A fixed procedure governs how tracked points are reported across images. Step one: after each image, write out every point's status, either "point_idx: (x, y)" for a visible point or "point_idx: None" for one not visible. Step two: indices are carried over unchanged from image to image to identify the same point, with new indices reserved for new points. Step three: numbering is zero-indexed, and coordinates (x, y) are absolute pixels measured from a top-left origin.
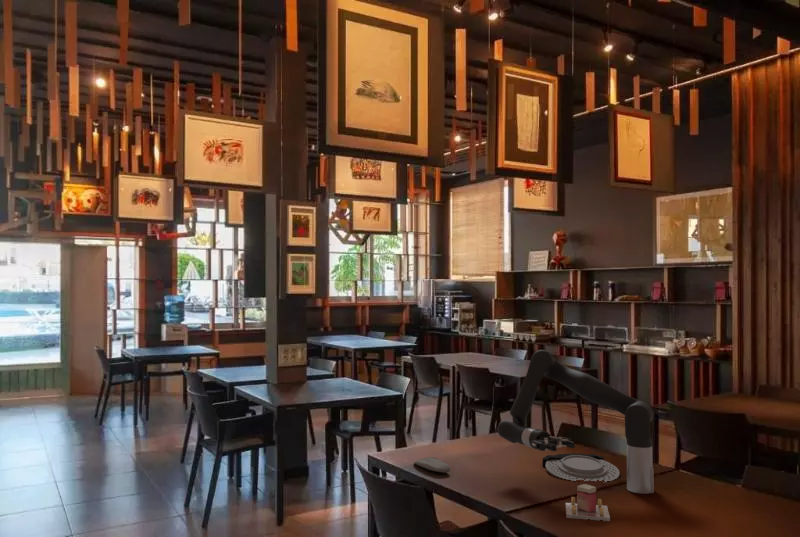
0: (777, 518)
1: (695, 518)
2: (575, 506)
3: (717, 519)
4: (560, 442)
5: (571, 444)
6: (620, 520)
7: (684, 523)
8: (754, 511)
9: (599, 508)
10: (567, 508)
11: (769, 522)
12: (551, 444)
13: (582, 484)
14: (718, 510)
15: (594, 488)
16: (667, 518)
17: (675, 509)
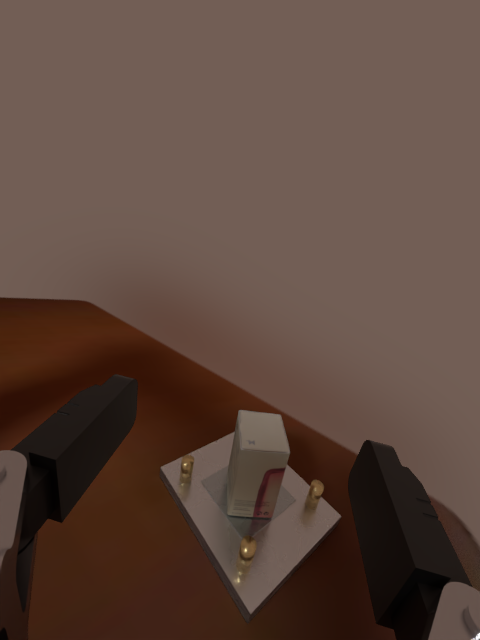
0: (36, 305)
1: (102, 352)
2: (315, 480)
3: (87, 336)
4: (15, 615)
5: (124, 409)
6: (219, 422)
7: (144, 357)
8: (5, 316)
9: (203, 471)
10: (299, 550)
11: (63, 309)
12: (411, 493)
13: (258, 446)
14: (23, 338)
15: (249, 412)
16: (134, 374)
17: (55, 376)
